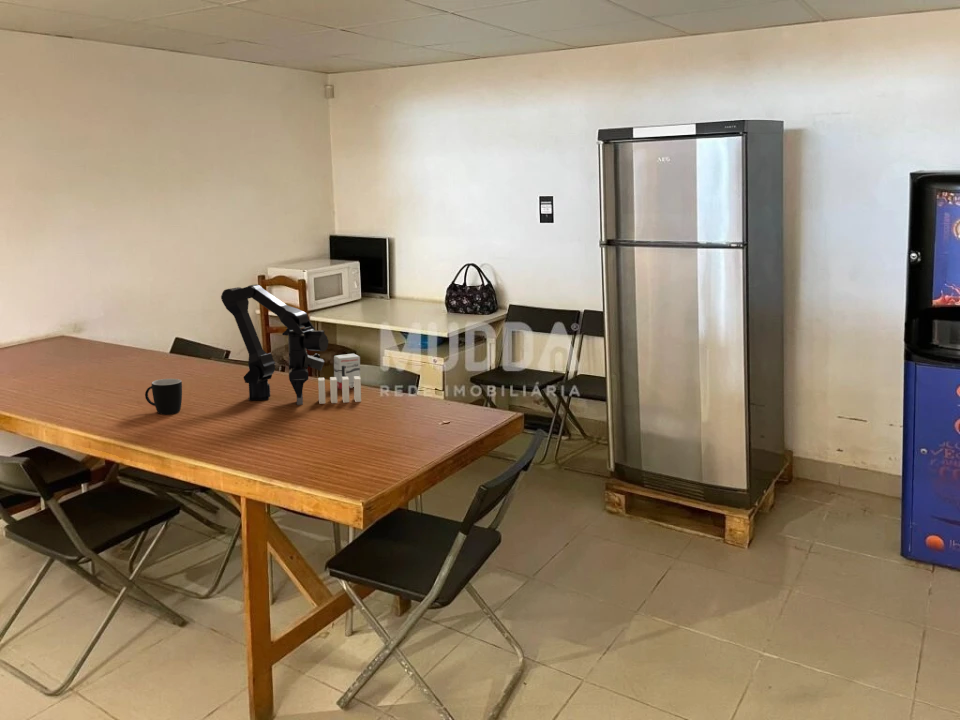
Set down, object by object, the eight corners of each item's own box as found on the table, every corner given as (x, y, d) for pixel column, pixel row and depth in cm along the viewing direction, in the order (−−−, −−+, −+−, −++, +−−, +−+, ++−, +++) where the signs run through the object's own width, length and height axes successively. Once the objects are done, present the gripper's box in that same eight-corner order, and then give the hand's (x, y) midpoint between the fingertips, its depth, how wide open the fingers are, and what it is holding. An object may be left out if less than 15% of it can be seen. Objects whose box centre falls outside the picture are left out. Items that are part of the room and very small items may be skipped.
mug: (188, 409, 254) (186, 379, 252) (175, 416, 245) (172, 385, 243) (154, 407, 255) (151, 377, 253) (139, 415, 247) (136, 384, 244)
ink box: (339, 389, 282) (338, 357, 279) (334, 387, 286) (333, 355, 283) (361, 386, 286) (360, 355, 284) (355, 384, 290) (354, 353, 288)
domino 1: (296, 404, 261) (295, 381, 259) (296, 401, 265) (295, 378, 263) (302, 404, 261) (302, 381, 259) (302, 401, 265) (301, 378, 264)
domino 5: (355, 401, 265) (354, 379, 264) (354, 398, 269) (353, 376, 268) (361, 401, 266) (360, 378, 264) (360, 398, 270) (359, 376, 268)
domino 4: (343, 402, 264) (342, 379, 263) (342, 399, 268) (341, 376, 267) (349, 402, 265) (348, 379, 263) (348, 399, 269) (347, 376, 267)
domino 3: (331, 403, 263) (330, 380, 262) (330, 399, 268) (330, 377, 266) (337, 402, 264) (336, 379, 262) (336, 399, 268) (336, 377, 266)
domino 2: (319, 403, 262) (318, 380, 261) (318, 400, 267) (318, 377, 265) (325, 403, 263) (324, 380, 261) (324, 400, 267) (324, 377, 265)
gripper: (323, 353, 252) (324, 400, 255) (321, 343, 270) (322, 386, 273) (288, 354, 250) (289, 401, 253) (288, 344, 267) (289, 388, 271)
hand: (299, 394), depth 262 cm, fingers open, 9 cm apart
